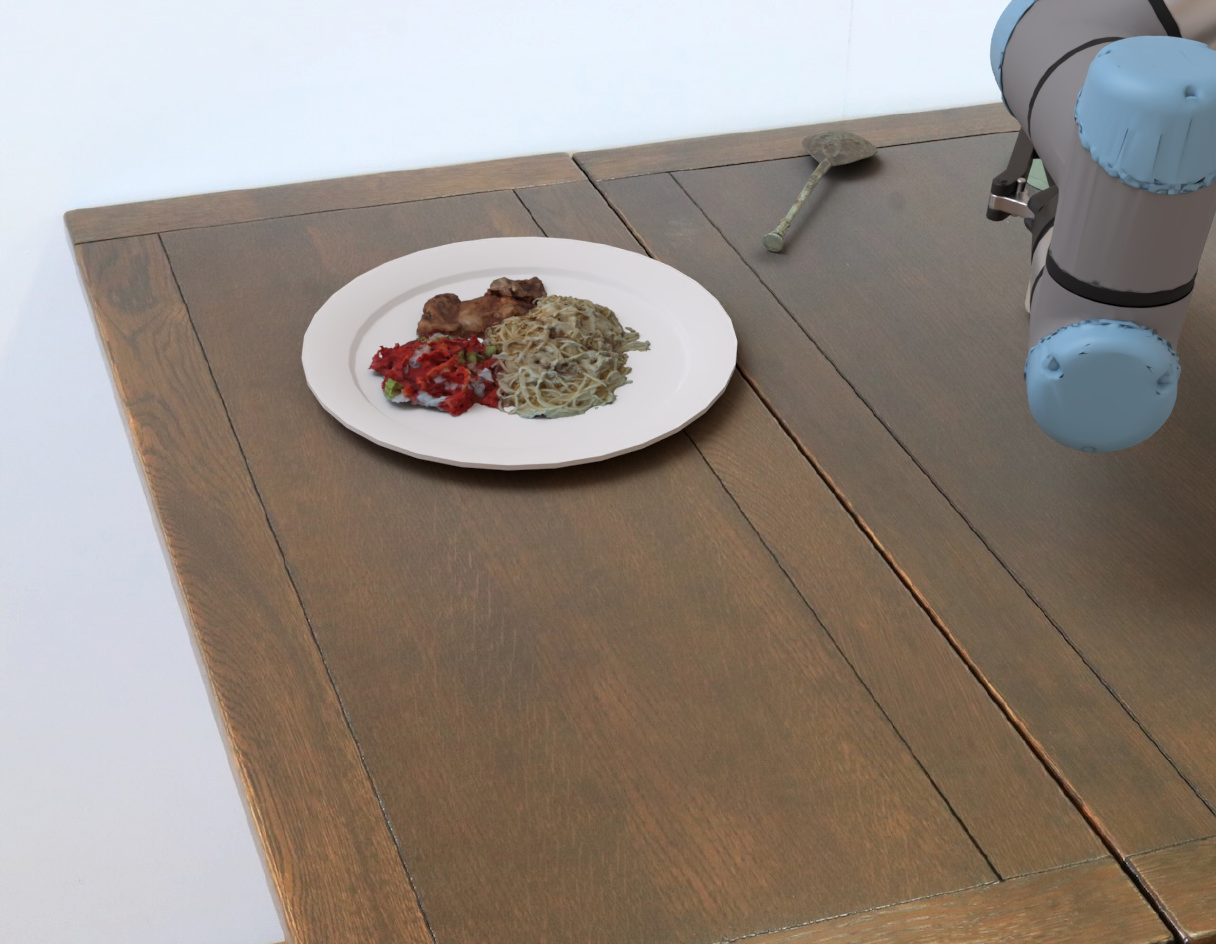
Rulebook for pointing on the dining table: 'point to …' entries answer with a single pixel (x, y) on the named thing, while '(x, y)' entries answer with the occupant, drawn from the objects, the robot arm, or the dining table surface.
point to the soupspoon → (821, 171)
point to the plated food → (519, 353)
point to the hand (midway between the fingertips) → (1092, 105)
